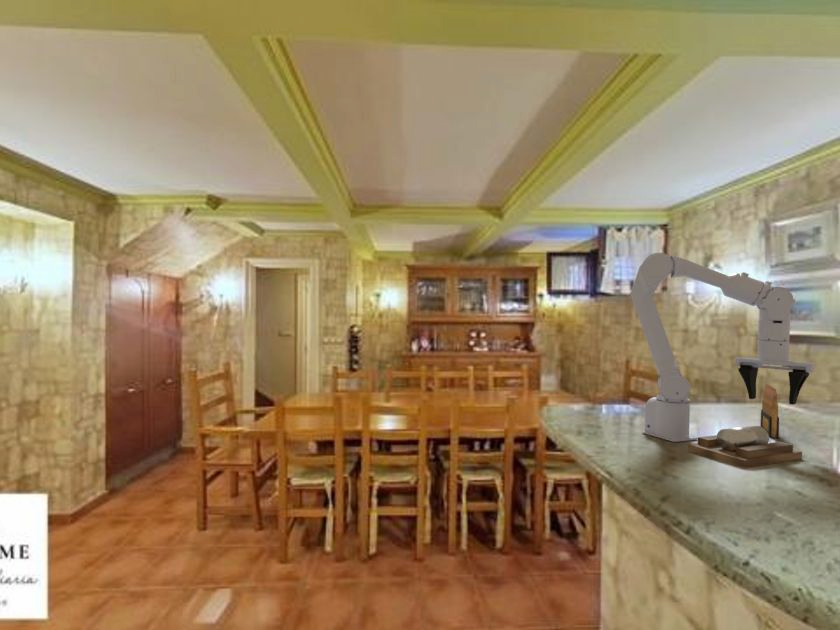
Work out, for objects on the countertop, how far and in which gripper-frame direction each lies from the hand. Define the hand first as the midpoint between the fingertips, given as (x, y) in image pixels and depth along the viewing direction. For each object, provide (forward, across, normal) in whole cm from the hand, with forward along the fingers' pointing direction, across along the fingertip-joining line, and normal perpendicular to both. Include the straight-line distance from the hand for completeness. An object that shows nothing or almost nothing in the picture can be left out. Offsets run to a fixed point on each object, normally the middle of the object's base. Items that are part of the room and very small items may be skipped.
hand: (771, 401), depth 110 cm
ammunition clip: (+11, -5, +16) cm, 20 cm away
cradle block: (+10, -1, -12) cm, 16 cm away
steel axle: (+7, -1, -13) cm, 15 cm away
